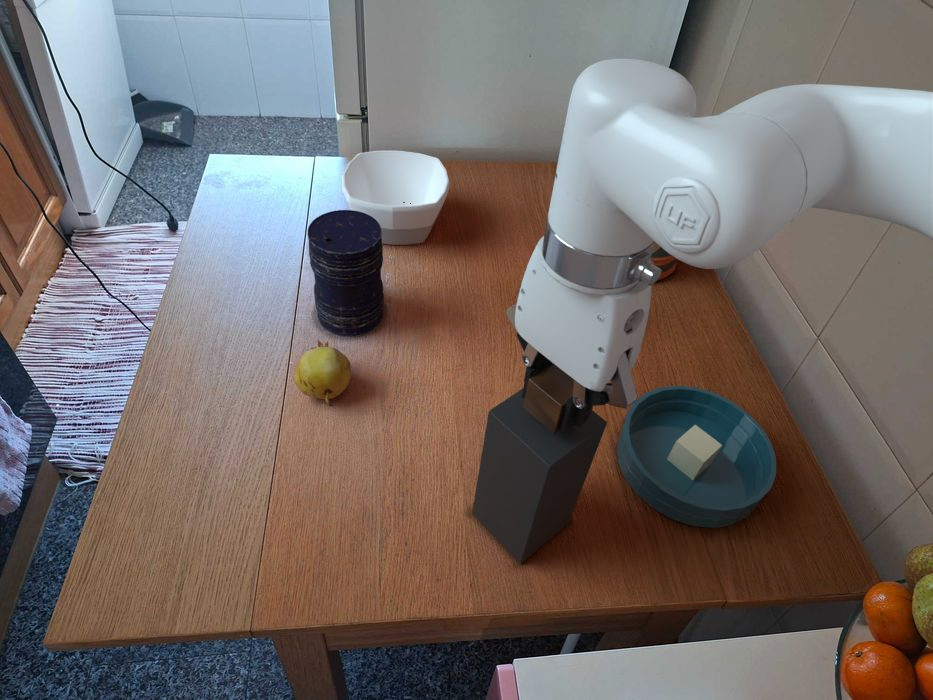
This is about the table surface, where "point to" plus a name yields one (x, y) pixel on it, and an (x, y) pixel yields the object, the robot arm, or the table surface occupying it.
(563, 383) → the walnut block
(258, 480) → the table surface
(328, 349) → the fruit
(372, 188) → the bowl
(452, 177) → the table surface
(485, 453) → the stand
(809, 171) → the robot arm
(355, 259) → the storage jar
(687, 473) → the cream block
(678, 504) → the bowl
